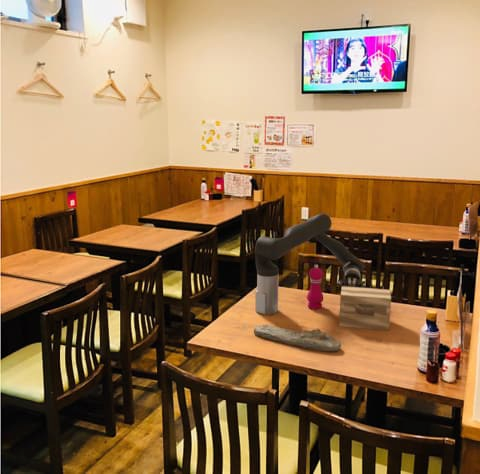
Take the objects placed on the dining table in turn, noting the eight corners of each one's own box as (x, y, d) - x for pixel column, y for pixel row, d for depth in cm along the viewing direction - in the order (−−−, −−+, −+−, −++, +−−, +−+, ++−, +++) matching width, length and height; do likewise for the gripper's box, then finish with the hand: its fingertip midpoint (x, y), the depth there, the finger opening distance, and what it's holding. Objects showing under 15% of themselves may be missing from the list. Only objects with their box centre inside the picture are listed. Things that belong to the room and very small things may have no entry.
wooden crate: (340, 315, 218) (341, 286, 215) (387, 320, 214) (389, 289, 211) (339, 326, 208) (340, 294, 205) (388, 330, 203) (391, 298, 200)
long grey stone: (260, 331, 207) (249, 341, 199) (259, 319, 206) (248, 329, 198) (344, 344, 191) (336, 356, 182) (344, 331, 189) (335, 343, 181)
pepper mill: (304, 308, 227) (305, 265, 222) (310, 303, 233) (311, 261, 228) (319, 311, 224) (321, 267, 219) (325, 305, 230) (326, 263, 225)
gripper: (338, 268, 245) (336, 280, 229) (366, 270, 242) (367, 282, 226) (338, 283, 247) (336, 295, 230) (366, 285, 244) (366, 298, 227)
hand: (351, 289), depth 228 cm, fingers closed
